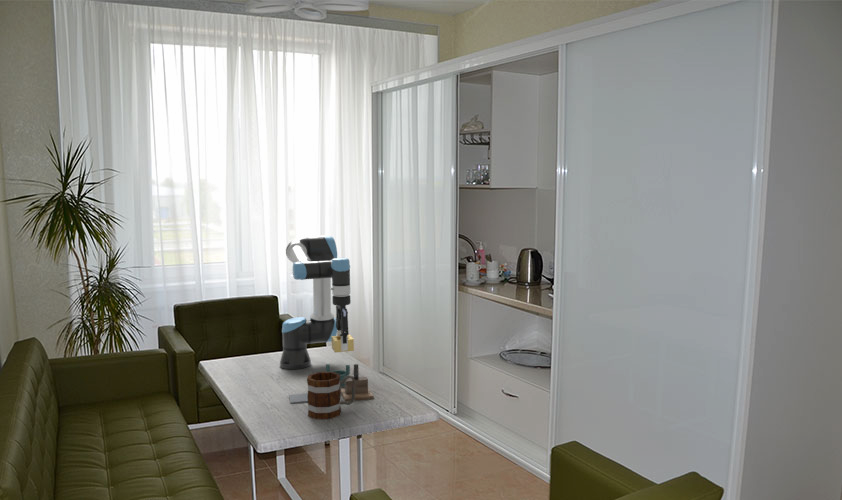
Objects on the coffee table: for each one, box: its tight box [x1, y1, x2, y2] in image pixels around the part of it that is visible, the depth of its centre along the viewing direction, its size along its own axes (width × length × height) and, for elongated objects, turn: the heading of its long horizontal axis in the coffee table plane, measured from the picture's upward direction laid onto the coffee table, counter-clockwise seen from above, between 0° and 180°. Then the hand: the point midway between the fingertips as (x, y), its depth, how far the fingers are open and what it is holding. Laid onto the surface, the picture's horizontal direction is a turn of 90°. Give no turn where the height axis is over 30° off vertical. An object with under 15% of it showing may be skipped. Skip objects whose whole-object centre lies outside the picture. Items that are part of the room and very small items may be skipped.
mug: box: [306, 371, 356, 420], centre depth 261 cm, size 20×14×15 cm
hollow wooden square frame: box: [331, 334, 355, 353], centre depth 279 cm, size 8×8×5 cm
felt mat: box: [288, 392, 308, 405], centre depth 278 cm, size 10×10×1 cm
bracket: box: [325, 363, 351, 388], centre depth 298 cm, size 9×9×9 cm
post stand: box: [340, 363, 375, 402], centre depth 282 cm, size 14×12×13 cm
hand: (342, 347), depth 279 cm, fingers closed on hollow wooden square frame, 8 cm apart
